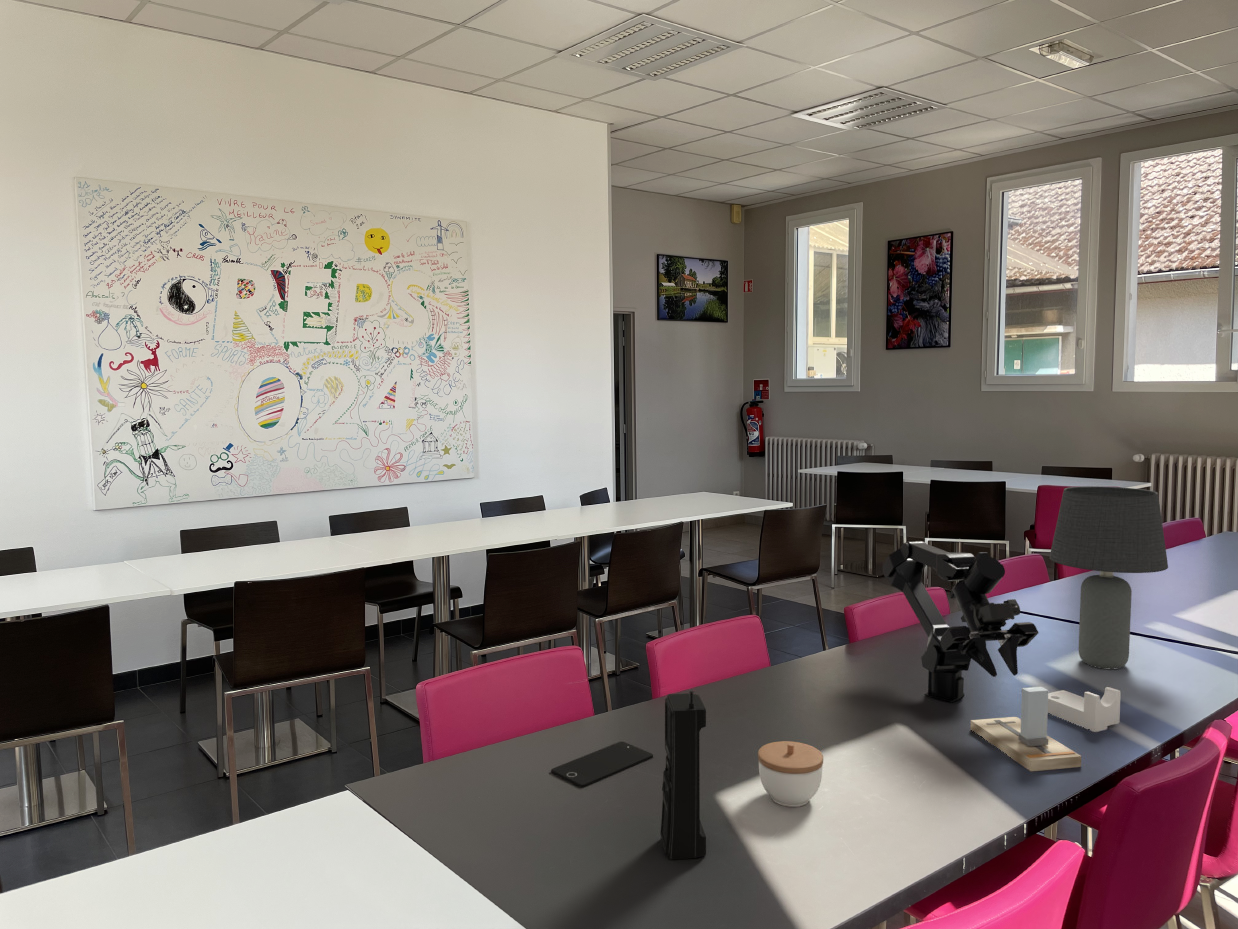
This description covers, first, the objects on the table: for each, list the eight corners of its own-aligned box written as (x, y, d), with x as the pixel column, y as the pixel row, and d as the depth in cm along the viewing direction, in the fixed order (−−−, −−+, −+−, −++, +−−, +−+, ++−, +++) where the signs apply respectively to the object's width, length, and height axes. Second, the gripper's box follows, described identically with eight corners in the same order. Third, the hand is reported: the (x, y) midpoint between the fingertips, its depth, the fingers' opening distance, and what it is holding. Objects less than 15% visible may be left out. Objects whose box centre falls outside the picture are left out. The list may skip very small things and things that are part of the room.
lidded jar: (754, 783, 150) (754, 731, 149) (815, 784, 150) (816, 731, 149) (762, 814, 139) (762, 758, 138) (829, 814, 139) (829, 758, 138)
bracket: (1119, 727, 173) (1120, 691, 173) (1094, 733, 170) (1096, 696, 170) (1062, 706, 185) (1063, 671, 185) (1039, 711, 182) (1040, 676, 182)
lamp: (1182, 667, 208) (1191, 491, 205) (1131, 689, 194) (1139, 500, 190) (1078, 643, 229) (1084, 483, 225) (1025, 660, 215) (1031, 490, 211)
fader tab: (1018, 740, 162) (1020, 687, 161) (1037, 738, 162) (1039, 685, 161) (1028, 746, 159) (1030, 692, 158) (1048, 744, 159) (1050, 691, 158)
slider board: (970, 730, 172) (970, 719, 172) (1016, 726, 174) (1016, 716, 174) (1030, 771, 153) (1031, 760, 153) (1081, 766, 155) (1081, 755, 155)
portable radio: (658, 833, 133) (657, 676, 131) (697, 831, 134) (696, 675, 132) (665, 861, 126) (664, 694, 123) (706, 858, 126) (706, 693, 124)
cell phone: (549, 774, 155) (549, 769, 155) (621, 745, 168) (621, 740, 167) (582, 790, 149) (582, 785, 149) (654, 759, 161) (654, 754, 161)
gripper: (948, 587, 171) (979, 659, 161) (1034, 583, 174) (1069, 653, 164) (927, 616, 179) (955, 685, 169) (1009, 611, 182) (1041, 679, 172)
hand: (1005, 675), depth 168 cm, fingers open, 4 cm apart
